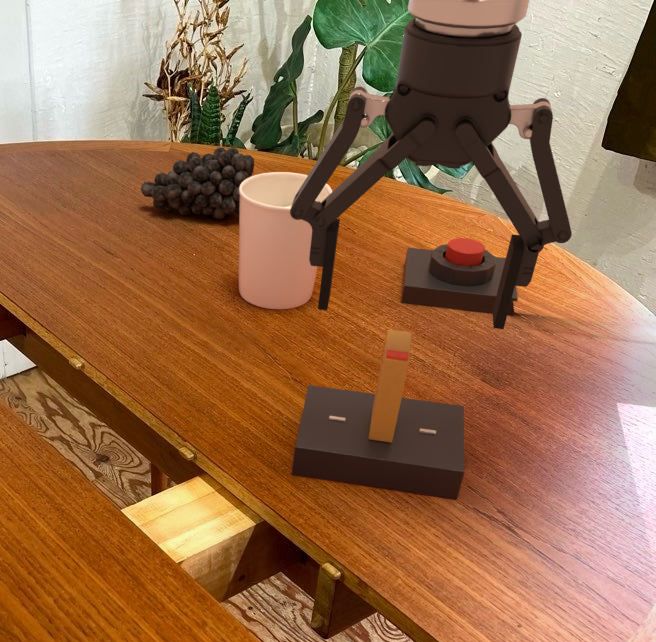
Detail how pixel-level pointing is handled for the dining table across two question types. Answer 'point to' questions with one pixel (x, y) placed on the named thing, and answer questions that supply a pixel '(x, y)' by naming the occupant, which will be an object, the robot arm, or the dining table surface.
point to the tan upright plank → (390, 385)
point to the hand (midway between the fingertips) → (409, 311)
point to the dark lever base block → (381, 444)
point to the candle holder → (274, 242)
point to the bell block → (452, 281)
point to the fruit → (188, 183)
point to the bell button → (465, 252)
